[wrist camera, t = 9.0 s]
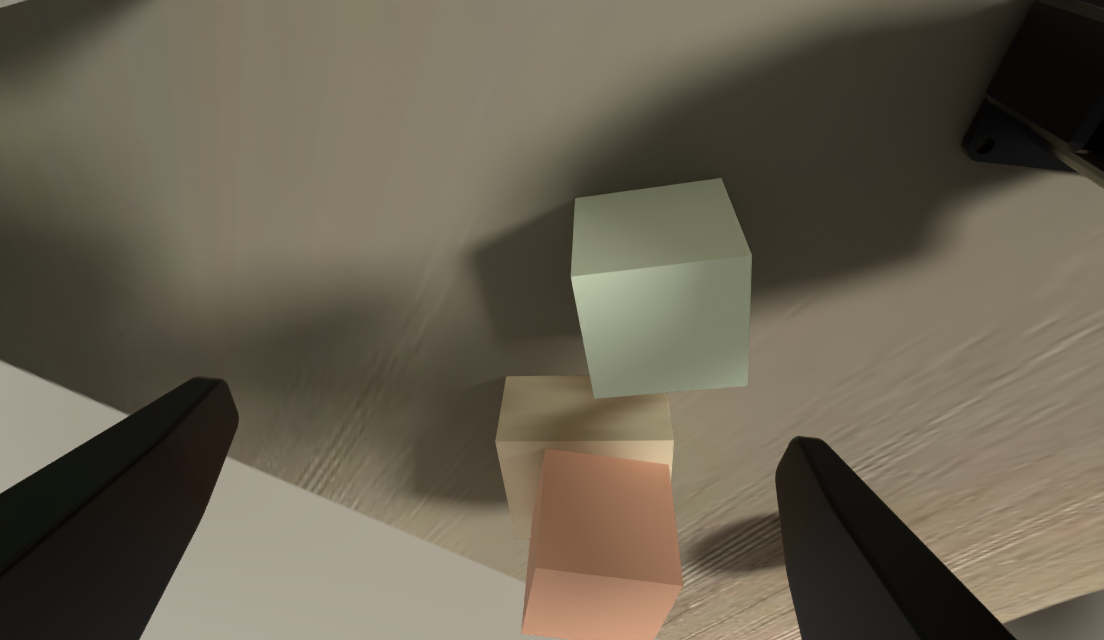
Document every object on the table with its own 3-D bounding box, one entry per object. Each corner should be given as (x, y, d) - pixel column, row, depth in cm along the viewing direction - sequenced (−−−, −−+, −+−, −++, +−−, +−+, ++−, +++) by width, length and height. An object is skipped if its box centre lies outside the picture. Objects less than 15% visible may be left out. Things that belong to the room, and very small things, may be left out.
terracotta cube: (668, 464, 24) (683, 585, 20) (640, 532, 27) (648, 648, 23) (545, 448, 23) (535, 567, 19) (532, 518, 26) (521, 633, 23)
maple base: (664, 369, 26) (673, 440, 23) (658, 469, 30) (665, 540, 27) (507, 372, 26) (495, 441, 23) (523, 469, 31) (515, 538, 28)
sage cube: (720, 177, 20) (751, 255, 16) (721, 295, 23) (747, 385, 19) (575, 197, 21) (570, 276, 17) (594, 309, 24) (594, 398, 20)
